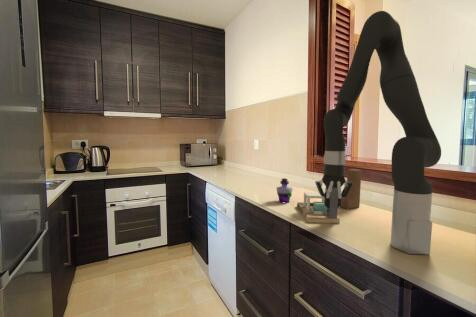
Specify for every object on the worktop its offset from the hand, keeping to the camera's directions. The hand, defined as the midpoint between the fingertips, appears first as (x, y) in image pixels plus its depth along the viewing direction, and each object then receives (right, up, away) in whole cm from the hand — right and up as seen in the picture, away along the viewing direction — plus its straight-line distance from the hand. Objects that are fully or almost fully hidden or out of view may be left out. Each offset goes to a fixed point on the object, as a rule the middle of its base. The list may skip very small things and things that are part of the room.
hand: (332, 207), depth 95 cm
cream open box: (-2, -3, +12) cm, 13 cm away
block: (-3, -4, +7) cm, 8 cm away
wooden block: (+17, -5, +23) cm, 29 cm away
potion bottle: (-13, -4, +32) cm, 35 cm away
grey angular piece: (-2, -4, +4) cm, 6 cm away
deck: (-3, -5, +12) cm, 13 cm away
